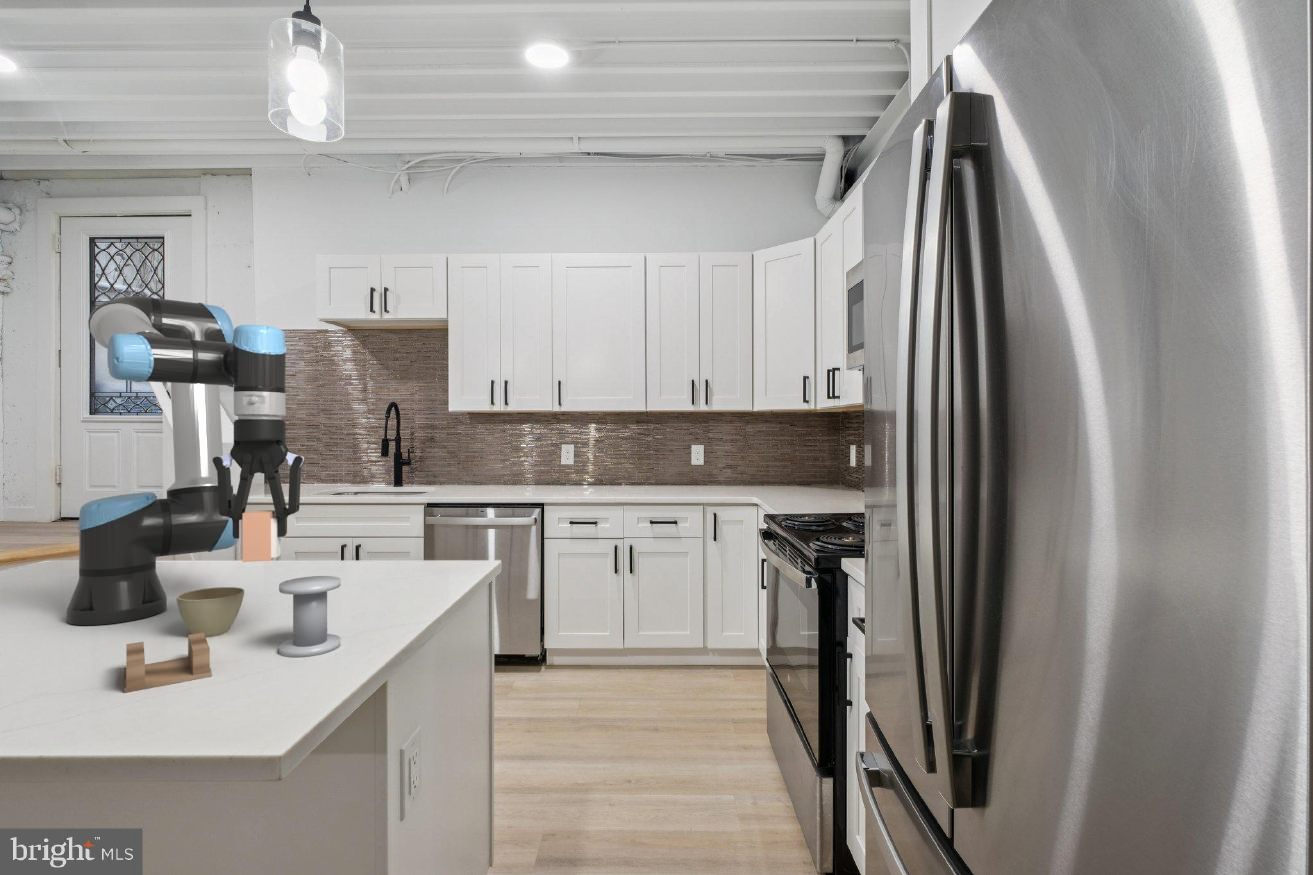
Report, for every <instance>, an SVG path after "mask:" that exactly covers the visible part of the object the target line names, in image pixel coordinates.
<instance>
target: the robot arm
mask: <svg viewBox="0 0 1313 875" xmlns="http://www.w3.org/2000/svg"><path fill="white" fill-rule="evenodd" d="M87 321H88V322H87V323H88V325H87V326H88V331H89V333H90V334H91V336H92V338H93V339H94V340H95V341H96V342H97V343H98V344H99V345H100V346H101V347H103V348H105V349H107V355H106V356H107V358H106V359H107V368H108V374H109V375H110V377H112V379H115V380H120V381H131V382H134V383H145V382H147V383H148V382H150V383H151V382H152V383H170V393H171V394H170V395H171V418H172V420H171V421H172V438H173V439H172V440H173V461H174V462H173V463H174V464H173V466H174V482H173V483H172V484H171V486H169V487H168V488H167V489H166V498H158V496H157V495H156V493H155V492H153V491H152V492H151V491H149V492H148V491H147V492H138V493H137V492H136V493H135V492H134V493H126V494H119V495H113V496H108V497H104V498H103V497H102V498H98V499H94V500H93V499H92V500H90V501H88V502H86V503H84V504H82V506H81V507H80V509H79V516H78V517H79V518H78V525H77V531H79V532H78V534H79V535H78V536H79V538H78V539H79V541H78V544H79V545H78V546H79V547H78V548H79V550H78V553H79V554H78V582H77V584H76V586H75V588H74V592H73V594H72V597H71V599H70V601H69V604H68V607H67V609H66V623H67V624H70V625H76V626H99V625H110V624H118V623H123V622H124V623H125V622H130V621H131V622H132V621H135V620H141V619H145V618H149V617H153V616H155V615H157V614H161V613H163V612H165V611H166V610H167V609H168V605H167V604H168V599H167V595H166V593H165V590H164V587H163V585H162V582H161V580H160V578H159V576H158V573H157V565H156V564H157V558H161V557H167V556H168V557H169V556H178V555H179V556H180V555H186V554H196V553H197V554H198V553H205V552H207V553H211V552H214V551H220V550H226V549H230V548H233V547H234V546H235V545H236V544H237V542H239V543H238V546H239V548H238V550H239V552H238V556H239V557H238V558H239V560H243V513H245V512H246V509H247V504H248V500H249V497H250V493H251V492H250V491H251V488H252V487H251V486H252V485H253V484H252V482H253V479H254V477H255V474H259V473H260V474H264V475H265V477H266V479H267V482H268V486H269V489H270V495H271V499H272V503H273V509H274V510H275V513H276V516H275V518H273V519H271V558H273V559H276V558H278V557H279V556H280V555H282V554H281V546H282V545H281V538H282V537H286V536H287V534H288V517H289V516H291V515H294V514H296V513H298V512H299V511H300V505H301V504H300V503H301V502H300V500H301V477H302V476H301V475H302V474H301V472H302V468H303V466H304V463H305V461H306V457H305V456H304V455H299V454H298V455H297V454H294V453H292V452H290V450H289V448H288V446H287V444H286V443H287V442H286V441H287V440H286V439H287V438H286V433H287V432H286V429H287V428H286V427H287V426H286V421H285V420H284V419H282V418H283V417H286V415H287V413H286V411H287V410H286V409H287V408H286V367H287V366H286V354H287V351H288V350H287V349H288V348H287V346H286V337H285V336H286V335H285V333H284V331H283V330H282V329H280V328H278V327H275V326H269V325H261V324H260V325H259V324H240V325H238V326H235V327H234V326H233V322H232V319H231V317H230V315H229V314H228V313H227V311H226V310H225V309H223V308H222V307H220V306H217V305H212V304H211V305H210V304H206V303H203V302H191V301H181V300H174V299H173V300H172V299H165V298H157V297H156V298H155V297H150V296H140V295H139V296H138V295H137V296H136V295H132V296H131V295H130V296H122V297H116V298H113V299H110V300H107V301H104V302H103V303H100V304H99V305H98V306H96V307H95V308H94V309H93V310H92V312H90V314H89V317H88V320H87ZM220 386H226V387H229V388H233V415H235V417H237V419H234V421H233V445H232V448H231V449H230V452H228V453H227V454H226V453H225V454H223V453H224V452H223V435H222V434H223V431H222V418H221V417H222V413H221V398H220V397H221V396H220ZM233 460H234V462H235V463H236V464H237V465H238V466H239V468H240V469H241V470H240V473H239V481H238V486H237V491H236V493H234V485H233V484H232V476H231V474H232V472H231V469H230V468H231V467H232V464H233ZM285 460H287V465H288V466H289V468H290V469H289V480H288V500H287V504H286V500H285V496H284V491H283V486H282V483H281V478H280V476H281V475H280V471H279V468H280V467H281V465H282V464H283V463H284V462H285ZM238 540H239V541H238Z"/></svg>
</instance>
